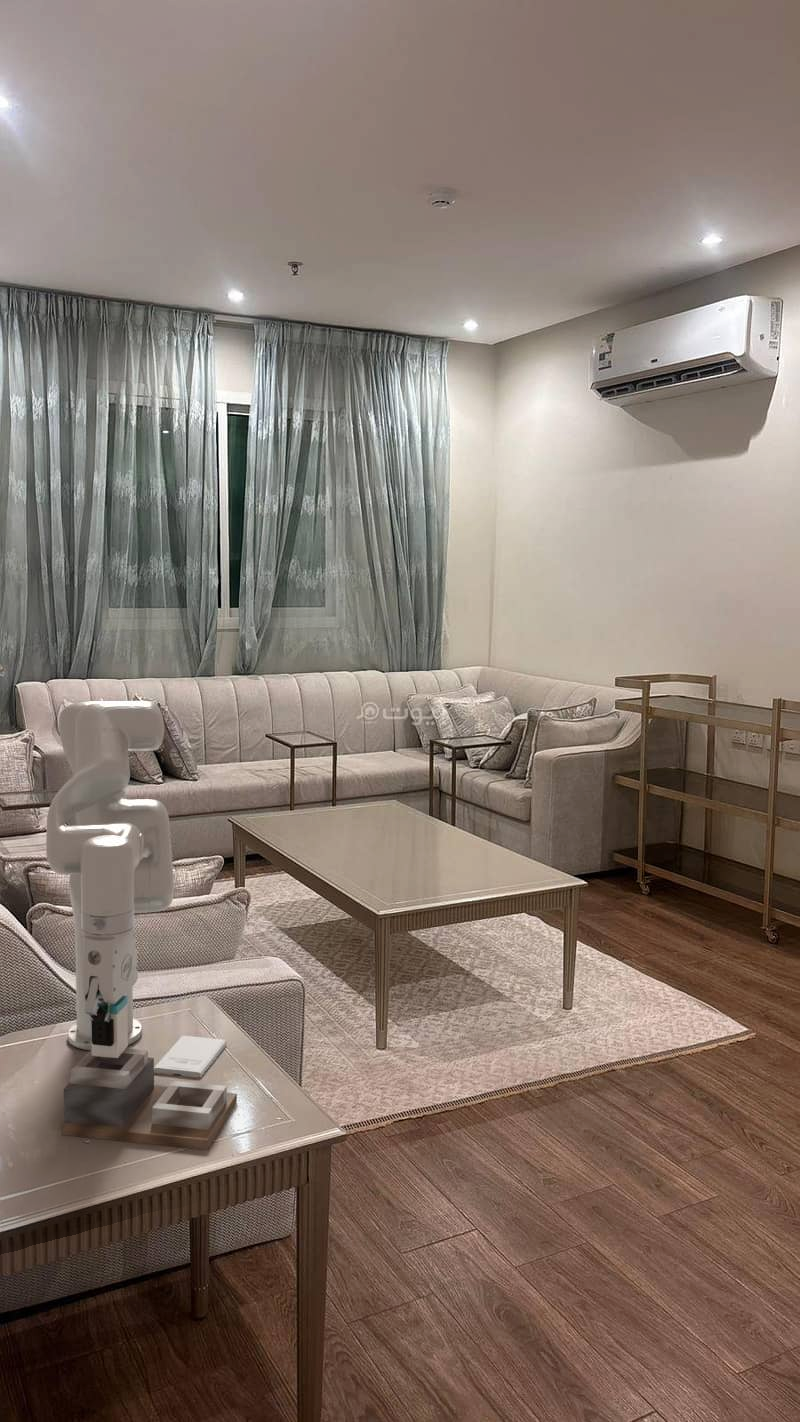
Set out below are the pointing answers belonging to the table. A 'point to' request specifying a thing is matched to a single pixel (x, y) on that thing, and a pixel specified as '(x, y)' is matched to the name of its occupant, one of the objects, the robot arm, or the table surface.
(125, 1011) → the plug block
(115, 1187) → the table surface
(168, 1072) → the external hard drive
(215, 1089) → the socket console
